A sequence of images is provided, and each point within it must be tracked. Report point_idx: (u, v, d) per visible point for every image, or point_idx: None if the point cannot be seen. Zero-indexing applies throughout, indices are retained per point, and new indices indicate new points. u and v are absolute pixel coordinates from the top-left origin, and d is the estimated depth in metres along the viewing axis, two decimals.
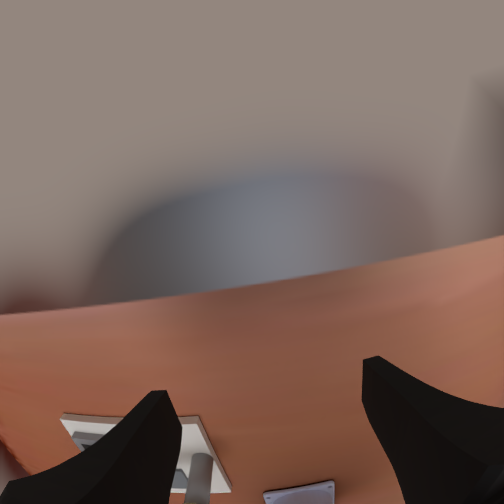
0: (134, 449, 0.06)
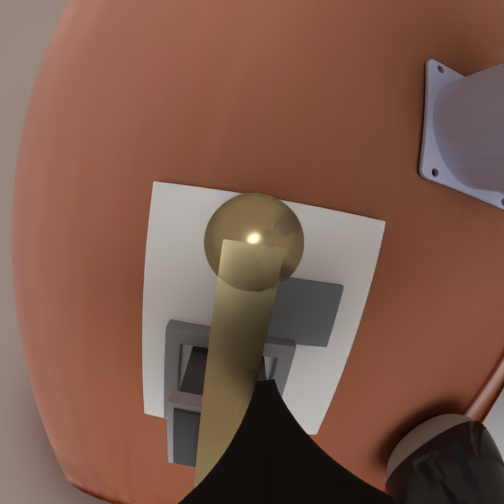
0: None
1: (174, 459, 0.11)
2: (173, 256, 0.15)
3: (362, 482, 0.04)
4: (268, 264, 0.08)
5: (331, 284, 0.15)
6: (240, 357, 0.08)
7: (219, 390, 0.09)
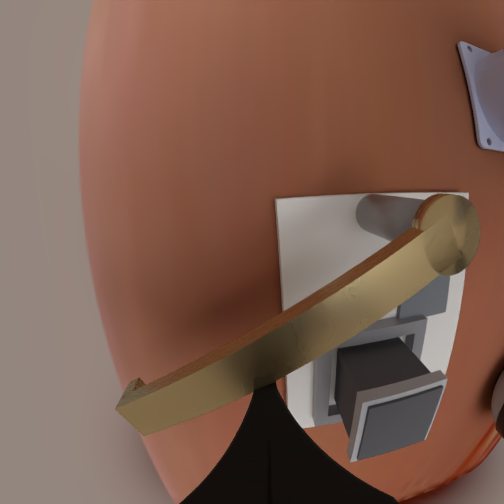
0: None
1: (359, 456, 0.11)
2: (310, 268, 0.15)
3: (362, 482, 0.04)
4: (449, 255, 0.08)
5: None
6: (375, 301, 0.08)
7: (327, 316, 0.08)
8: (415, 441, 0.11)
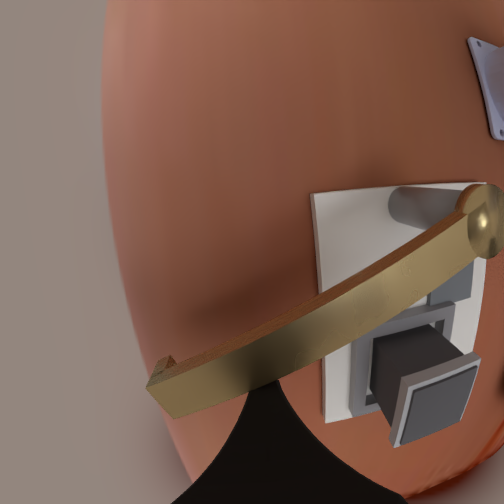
0: None
1: (402, 441, 0.11)
2: (348, 260, 0.15)
3: (368, 480, 0.04)
4: (485, 240, 0.08)
5: None
6: (425, 276, 0.08)
7: (384, 287, 0.08)
8: (452, 422, 0.11)
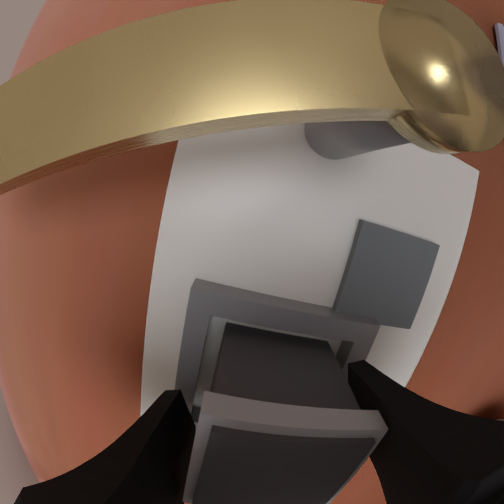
0: (151, 451, 0.06)
1: (195, 501, 0.06)
2: (213, 177, 0.10)
3: (498, 420, 0.04)
4: (441, 88, 0.03)
5: (425, 240, 0.10)
6: (207, 68, 0.03)
7: (91, 67, 0.03)
8: None
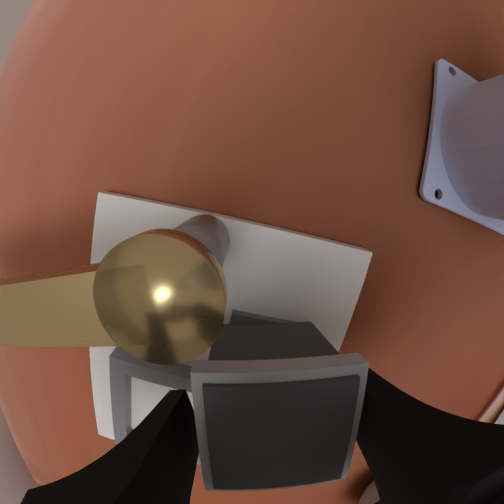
0: (158, 451, 0.06)
1: (214, 482, 0.07)
2: None
3: None
4: (137, 329, 0.05)
5: None
6: (30, 323, 0.05)
7: None
8: (323, 478, 0.07)
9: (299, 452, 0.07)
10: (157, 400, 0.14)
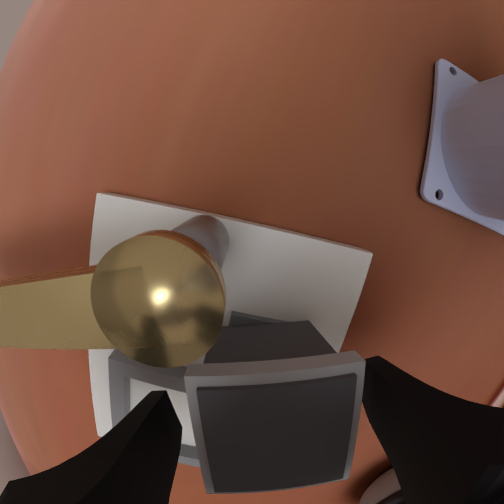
0: (134, 449, 0.06)
1: (215, 486, 0.07)
2: None
3: None
4: (136, 332, 0.05)
5: None
6: (27, 325, 0.05)
7: None
8: (324, 479, 0.07)
9: (298, 453, 0.07)
10: None
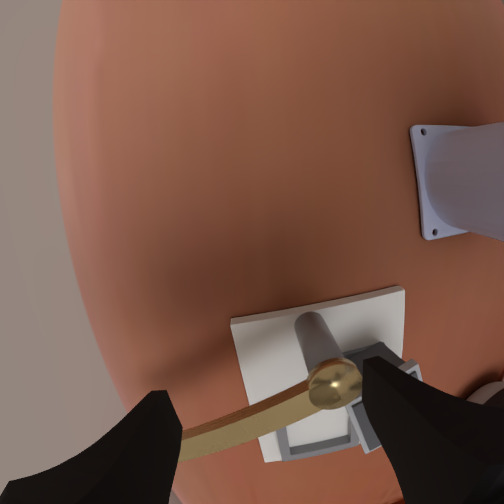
0: (134, 449, 0.06)
1: (369, 447, 0.14)
2: (262, 366, 0.19)
3: None
4: (330, 400, 0.12)
5: None
6: (272, 422, 0.12)
7: (242, 427, 0.12)
8: None
9: None
10: (304, 421, 0.21)
